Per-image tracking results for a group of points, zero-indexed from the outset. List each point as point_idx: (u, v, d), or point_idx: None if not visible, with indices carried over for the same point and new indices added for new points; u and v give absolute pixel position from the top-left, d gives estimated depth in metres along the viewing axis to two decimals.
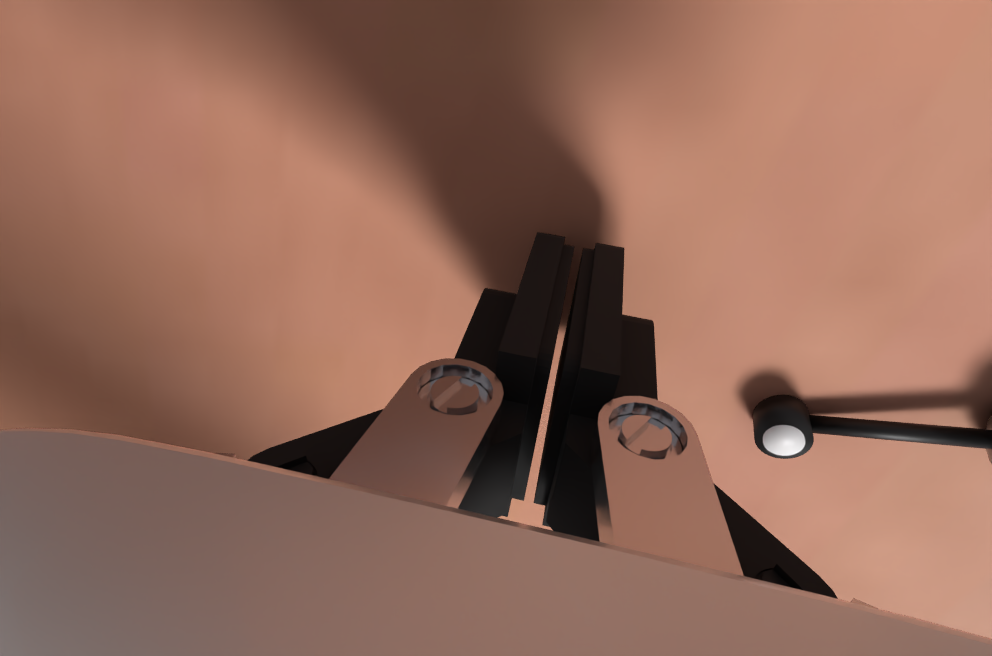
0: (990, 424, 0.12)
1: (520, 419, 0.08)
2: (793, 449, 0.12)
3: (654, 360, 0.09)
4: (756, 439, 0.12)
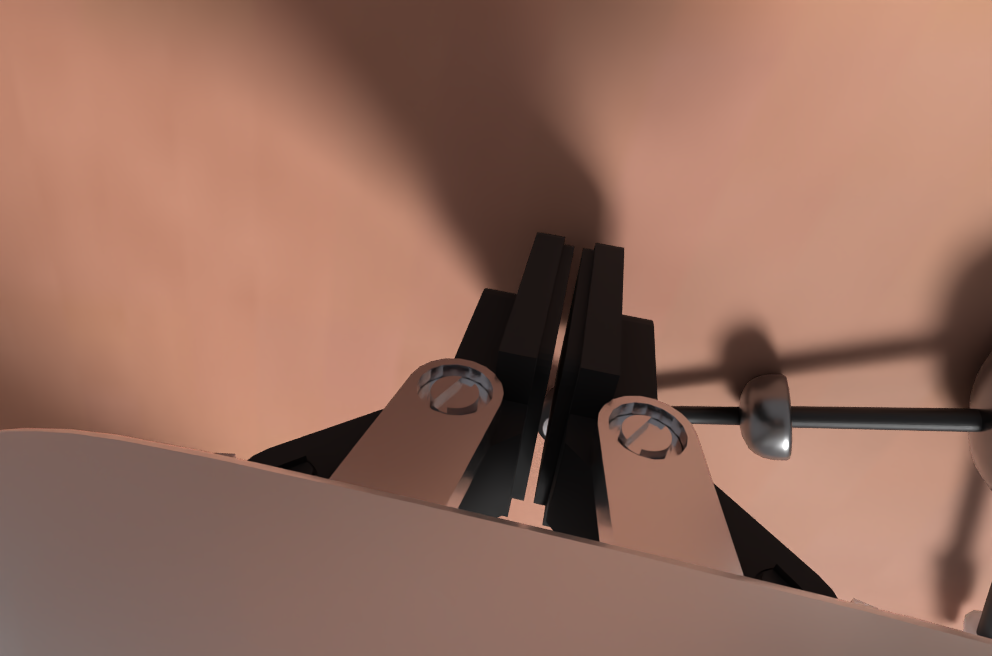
0: None
1: (520, 419, 0.08)
2: None
3: (654, 360, 0.09)
4: (539, 431, 0.13)
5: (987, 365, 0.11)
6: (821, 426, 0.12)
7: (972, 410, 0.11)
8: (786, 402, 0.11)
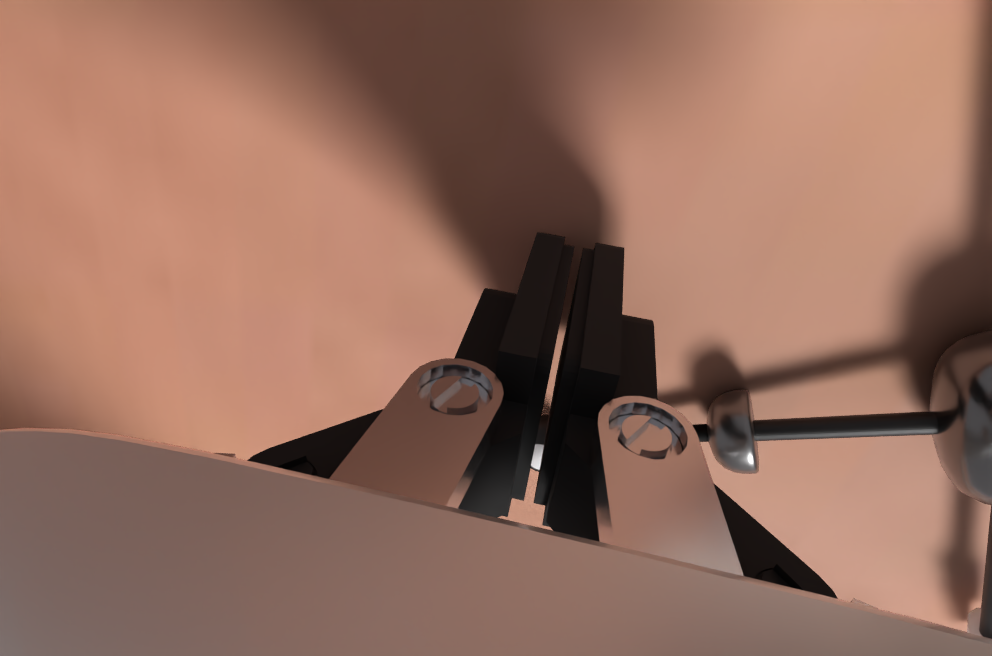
0: None
1: (520, 419, 0.08)
2: None
3: (654, 360, 0.09)
4: None
5: (937, 368, 0.11)
6: (785, 438, 0.12)
7: (928, 413, 0.11)
8: (746, 418, 0.12)
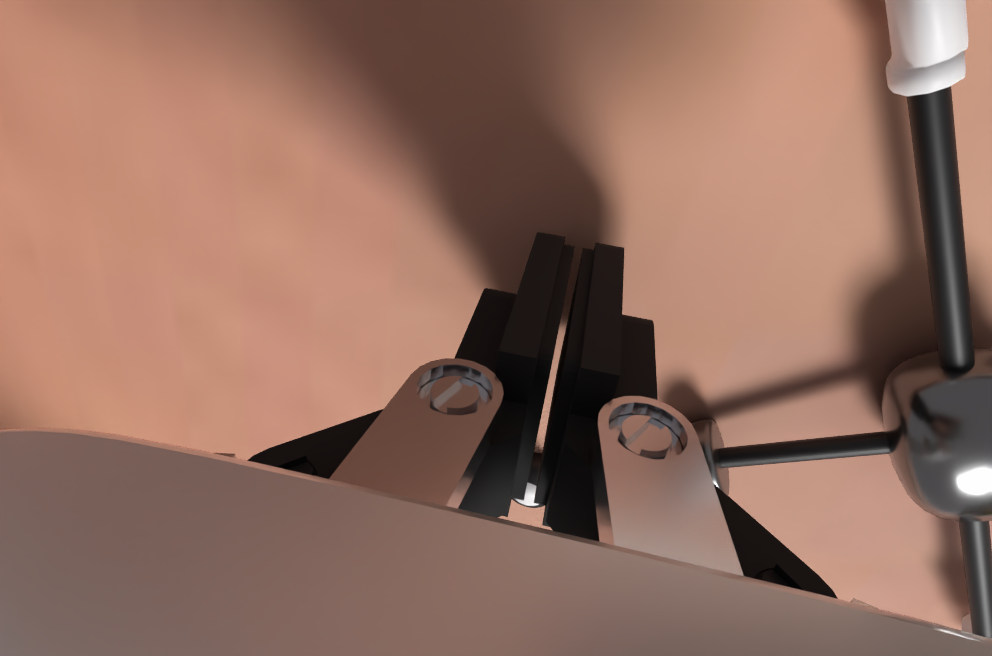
0: None
1: (520, 419, 0.08)
2: None
3: (654, 360, 0.09)
4: None
5: None
6: (749, 464, 0.12)
7: (880, 434, 0.11)
8: (708, 448, 0.12)
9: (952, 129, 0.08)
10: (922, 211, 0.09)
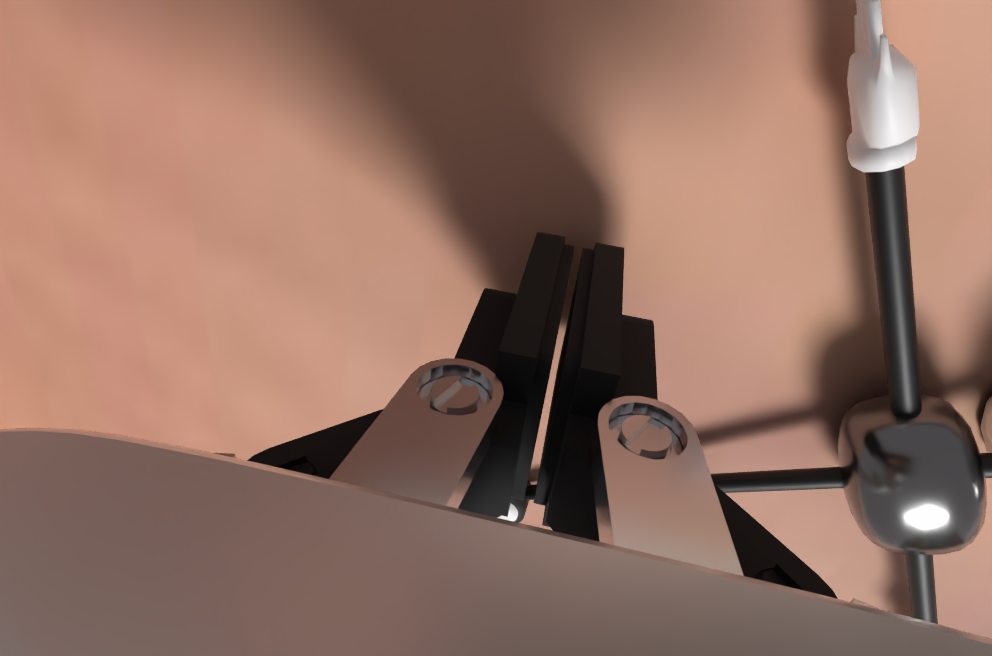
0: None
1: (520, 419, 0.08)
2: (512, 517, 0.15)
3: (654, 360, 0.09)
4: None
5: None
6: None
7: (834, 469, 0.12)
8: None
9: (904, 202, 0.09)
10: (876, 272, 0.10)
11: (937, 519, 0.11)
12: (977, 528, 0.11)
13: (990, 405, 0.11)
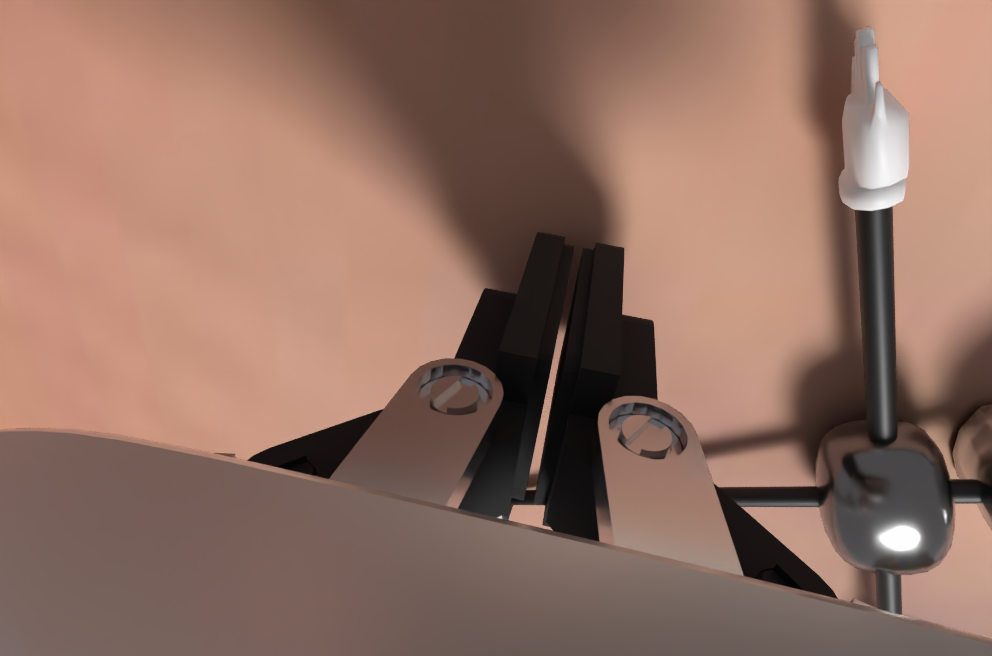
0: None
1: (520, 419, 0.08)
2: None
3: (654, 360, 0.09)
4: None
5: (818, 450, 0.12)
6: None
7: (811, 488, 0.12)
8: None
9: (891, 239, 0.09)
10: (861, 303, 0.10)
11: (907, 542, 0.11)
12: (944, 552, 0.11)
13: (963, 433, 0.12)
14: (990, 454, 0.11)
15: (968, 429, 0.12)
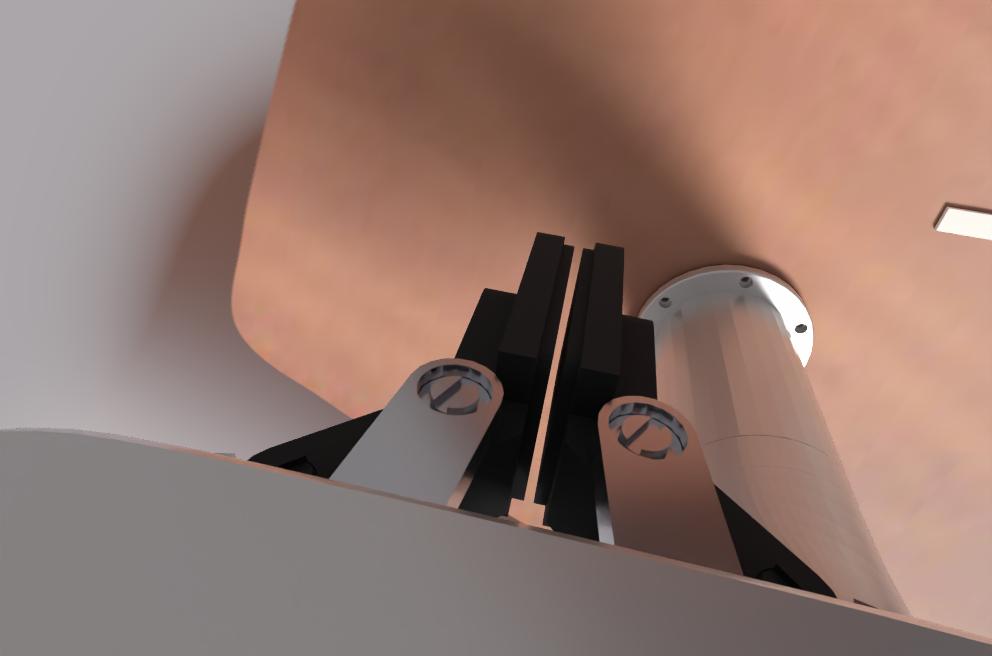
0: None
1: (520, 419, 0.08)
2: None
3: (654, 360, 0.09)
4: None
5: None
6: None
7: None
8: None
9: None
10: None
11: None
12: None
13: None
14: None
15: None
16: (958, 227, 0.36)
